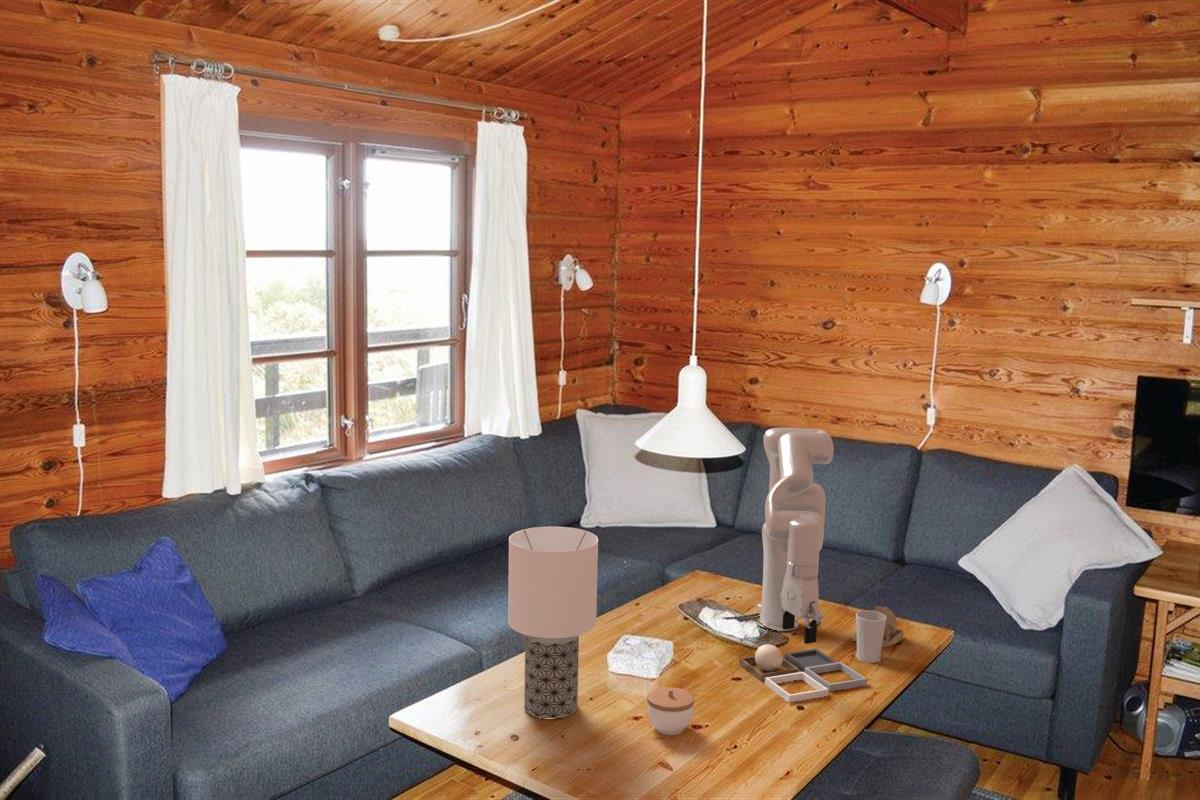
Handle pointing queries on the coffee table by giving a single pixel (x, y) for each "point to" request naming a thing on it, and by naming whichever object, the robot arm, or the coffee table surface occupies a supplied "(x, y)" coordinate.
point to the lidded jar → (670, 709)
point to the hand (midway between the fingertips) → (798, 635)
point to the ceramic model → (888, 628)
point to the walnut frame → (751, 660)
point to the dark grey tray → (808, 658)
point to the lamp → (552, 611)
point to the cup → (869, 635)
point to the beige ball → (768, 657)
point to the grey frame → (857, 682)
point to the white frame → (817, 693)
